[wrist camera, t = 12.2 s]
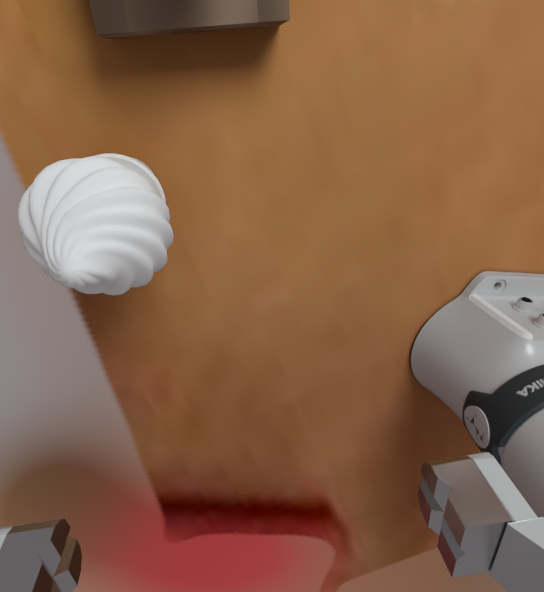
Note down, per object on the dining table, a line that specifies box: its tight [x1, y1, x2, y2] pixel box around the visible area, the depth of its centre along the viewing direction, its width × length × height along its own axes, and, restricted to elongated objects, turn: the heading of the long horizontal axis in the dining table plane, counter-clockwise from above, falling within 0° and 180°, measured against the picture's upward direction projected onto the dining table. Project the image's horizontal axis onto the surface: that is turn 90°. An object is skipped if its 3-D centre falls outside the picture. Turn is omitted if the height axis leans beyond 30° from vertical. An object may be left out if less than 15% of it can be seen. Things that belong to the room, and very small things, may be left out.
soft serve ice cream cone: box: [17, 154, 174, 296], centre depth 27 cm, size 8×8×16 cm
